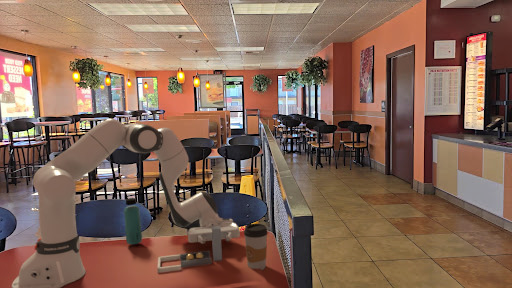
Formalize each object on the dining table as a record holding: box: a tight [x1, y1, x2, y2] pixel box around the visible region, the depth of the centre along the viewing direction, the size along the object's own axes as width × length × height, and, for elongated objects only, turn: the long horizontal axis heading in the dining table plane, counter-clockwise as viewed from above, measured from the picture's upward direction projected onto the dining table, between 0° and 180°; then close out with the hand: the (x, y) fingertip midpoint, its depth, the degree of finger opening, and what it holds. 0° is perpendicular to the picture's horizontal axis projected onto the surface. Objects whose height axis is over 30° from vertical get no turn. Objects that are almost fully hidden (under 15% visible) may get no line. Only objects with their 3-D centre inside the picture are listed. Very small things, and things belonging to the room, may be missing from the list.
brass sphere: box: [196, 253, 204, 259], centre depth 143 cm, size 3×3×3 cm
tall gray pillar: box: [211, 226, 223, 262], centre depth 144 cm, size 3×4×13 cm
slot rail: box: [179, 250, 213, 269], centre depth 143 cm, size 11×7×3 cm, turn 102°
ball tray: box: [157, 253, 182, 274], centre depth 140 cm, size 8×10×2 cm
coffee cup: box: [243, 223, 268, 271], centre depth 138 cm, size 8×8×15 cm
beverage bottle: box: [123, 197, 143, 245], centre depth 162 cm, size 6×7×20 cm
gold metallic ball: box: [186, 254, 194, 260], centre depth 142 cm, size 3×3×3 cm
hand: (215, 240), depth 145 cm, fingers open, 8 cm apart
